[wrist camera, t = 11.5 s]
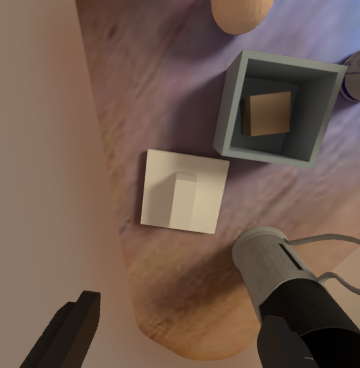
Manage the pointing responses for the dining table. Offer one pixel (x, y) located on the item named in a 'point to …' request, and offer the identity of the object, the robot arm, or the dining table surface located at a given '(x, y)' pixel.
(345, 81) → the beverage can
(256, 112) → the walnut block
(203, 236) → the dining table surface
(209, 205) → the lid
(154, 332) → the dining table surface
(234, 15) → the egg
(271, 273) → the glass holder
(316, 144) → the tin box
